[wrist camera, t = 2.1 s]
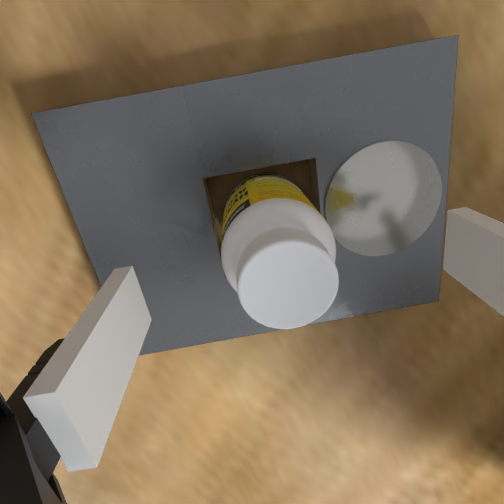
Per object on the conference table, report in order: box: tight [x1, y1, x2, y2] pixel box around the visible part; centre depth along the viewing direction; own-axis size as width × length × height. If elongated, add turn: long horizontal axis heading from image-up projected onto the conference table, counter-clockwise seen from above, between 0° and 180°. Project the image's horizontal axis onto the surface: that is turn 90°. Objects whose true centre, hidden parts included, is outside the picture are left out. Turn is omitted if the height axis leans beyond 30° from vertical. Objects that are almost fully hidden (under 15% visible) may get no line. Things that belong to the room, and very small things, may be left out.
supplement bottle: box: [221, 173, 339, 329], centre depth 17 cm, size 5×5×10 cm
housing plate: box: [31, 35, 459, 355], centre depth 21 cm, size 22×16×2 cm
